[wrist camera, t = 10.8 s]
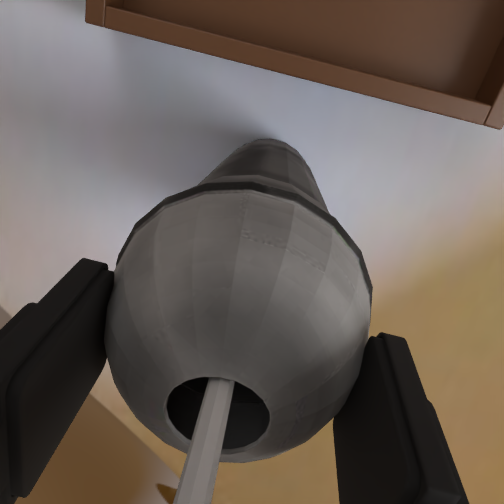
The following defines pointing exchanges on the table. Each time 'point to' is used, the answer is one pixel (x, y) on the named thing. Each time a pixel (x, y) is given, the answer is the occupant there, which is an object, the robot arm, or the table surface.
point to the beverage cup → (238, 315)
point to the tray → (343, 44)
